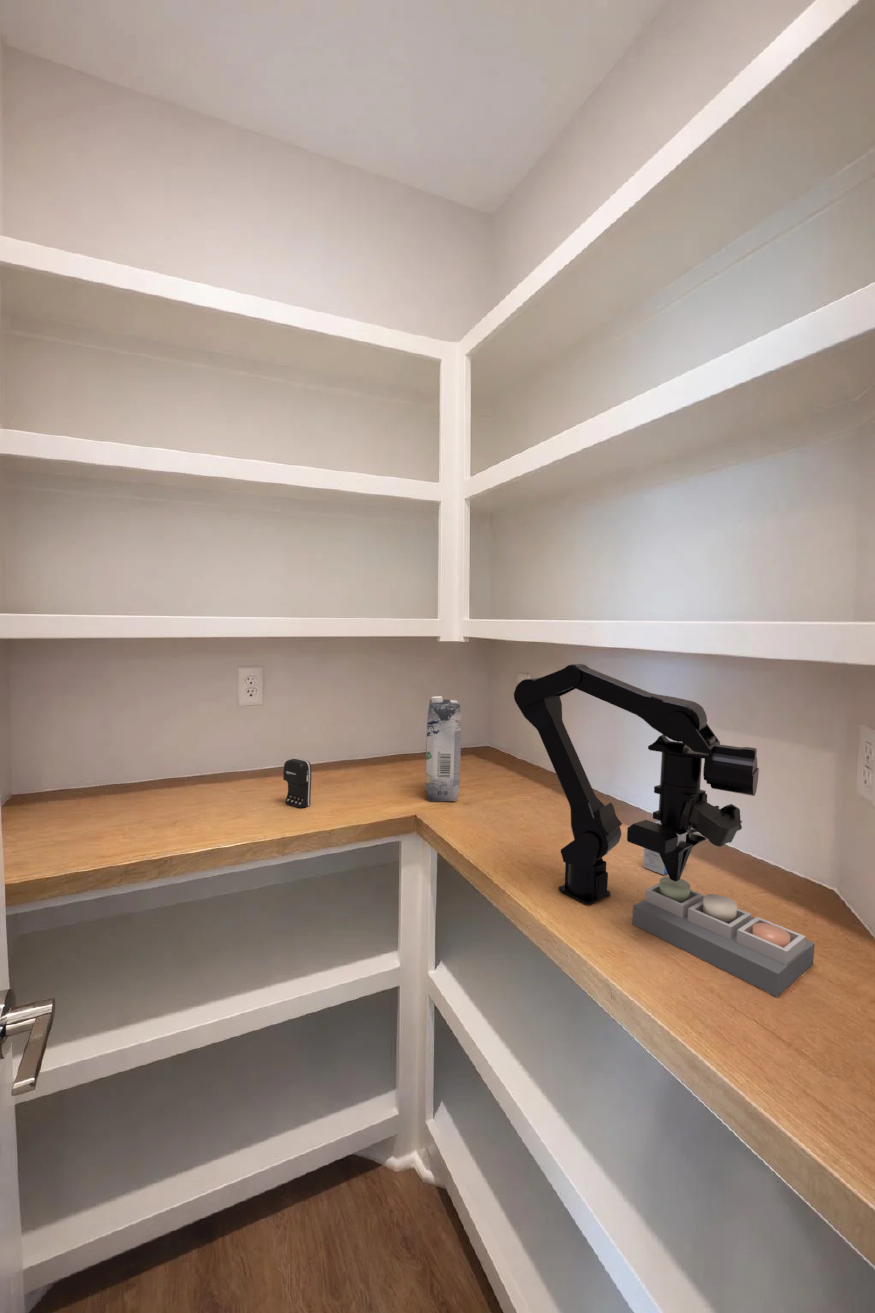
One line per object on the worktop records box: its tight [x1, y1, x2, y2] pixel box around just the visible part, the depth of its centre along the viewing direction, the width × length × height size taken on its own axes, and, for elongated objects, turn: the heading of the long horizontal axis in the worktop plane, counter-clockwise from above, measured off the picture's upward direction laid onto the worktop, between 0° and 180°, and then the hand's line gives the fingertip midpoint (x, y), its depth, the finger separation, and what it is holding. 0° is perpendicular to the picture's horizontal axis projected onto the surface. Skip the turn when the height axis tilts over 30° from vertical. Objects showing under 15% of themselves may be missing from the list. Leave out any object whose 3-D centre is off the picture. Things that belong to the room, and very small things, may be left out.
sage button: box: [659, 876, 691, 902], centre depth 87 cm, size 4×4×2 cm
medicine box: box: [642, 820, 687, 876], centre depth 107 cm, size 8×4×9 cm, turn 126°
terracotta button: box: [752, 923, 790, 948], centre depth 76 cm, size 4×4×2 cm
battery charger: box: [282, 757, 312, 809], centre depth 137 cm, size 7×4×11 cm, turn 56°
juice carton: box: [425, 695, 462, 802], centre depth 147 cm, size 9×10×27 cm
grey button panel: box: [631, 882, 816, 998], centre depth 81 cm, size 21×12×5 cm, turn 37°
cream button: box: [703, 893, 738, 923], centre depth 81 cm, size 4×4×2 cm
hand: (674, 880), depth 87 cm, fingers closed
